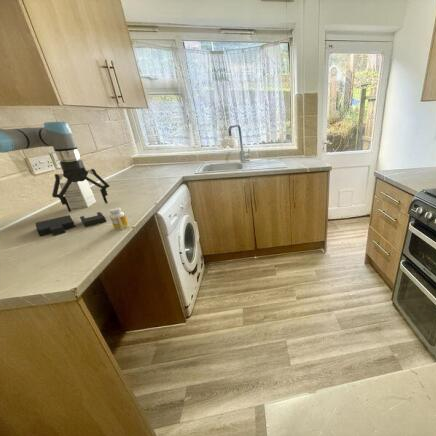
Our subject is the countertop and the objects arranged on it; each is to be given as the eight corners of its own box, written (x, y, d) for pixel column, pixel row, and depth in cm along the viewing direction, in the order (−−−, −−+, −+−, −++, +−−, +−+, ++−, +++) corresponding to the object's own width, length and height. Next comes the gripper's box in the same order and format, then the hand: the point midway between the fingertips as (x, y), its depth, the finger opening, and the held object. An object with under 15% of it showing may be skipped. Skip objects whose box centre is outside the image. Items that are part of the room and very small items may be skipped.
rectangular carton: (79, 203, 142) (68, 178, 135) (96, 202, 143) (86, 177, 137) (70, 209, 134) (57, 183, 127) (88, 207, 135) (76, 181, 129)
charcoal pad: (38, 228, 111) (35, 222, 110) (71, 220, 119) (69, 214, 118) (40, 239, 101) (37, 233, 100) (77, 230, 109) (74, 224, 108)
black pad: (82, 222, 117) (79, 216, 115) (102, 217, 122) (100, 211, 121) (86, 228, 110) (83, 222, 109) (106, 222, 116) (104, 217, 114)
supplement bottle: (127, 225, 112) (120, 205, 108) (130, 228, 108) (123, 208, 104) (114, 229, 109) (106, 209, 105) (116, 233, 105) (108, 212, 101)
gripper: (30, 166, 94) (53, 216, 102) (107, 156, 110) (121, 201, 119) (29, 164, 98) (52, 212, 107) (103, 155, 115) (117, 198, 123)
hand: (88, 206), depth 113 cm, fingers open, 13 cm apart
